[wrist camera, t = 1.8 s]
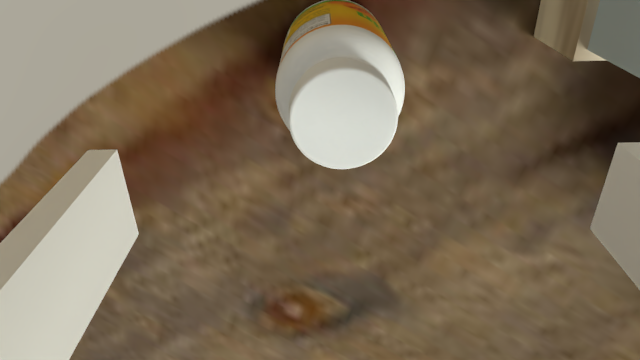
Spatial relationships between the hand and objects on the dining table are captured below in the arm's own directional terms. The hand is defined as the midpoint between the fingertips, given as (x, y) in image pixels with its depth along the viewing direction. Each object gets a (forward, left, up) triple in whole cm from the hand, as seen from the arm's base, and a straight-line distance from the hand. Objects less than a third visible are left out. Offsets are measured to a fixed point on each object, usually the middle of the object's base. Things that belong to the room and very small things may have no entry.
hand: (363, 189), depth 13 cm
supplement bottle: (0, 0, -15) cm, 15 cm away
